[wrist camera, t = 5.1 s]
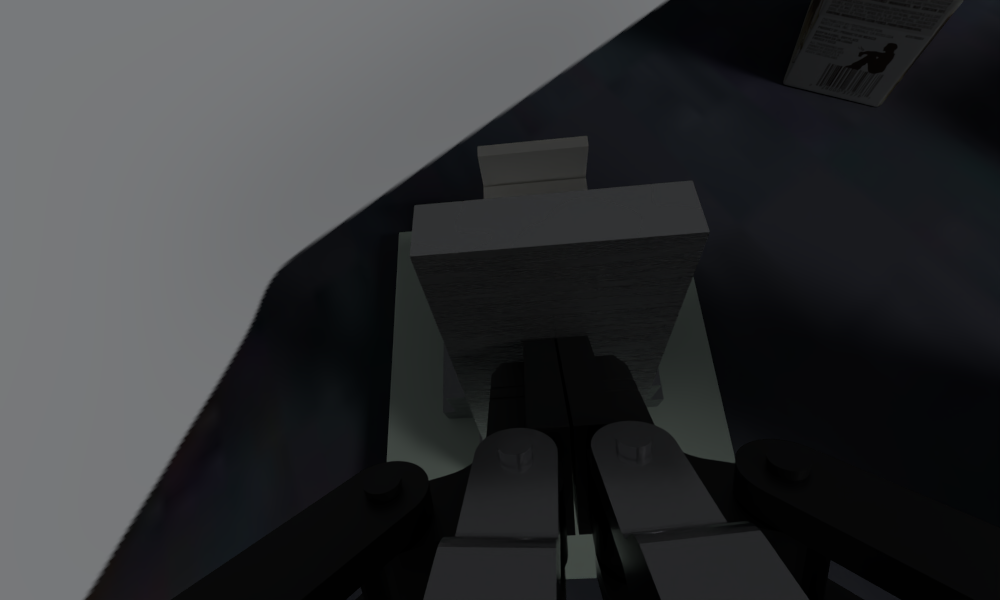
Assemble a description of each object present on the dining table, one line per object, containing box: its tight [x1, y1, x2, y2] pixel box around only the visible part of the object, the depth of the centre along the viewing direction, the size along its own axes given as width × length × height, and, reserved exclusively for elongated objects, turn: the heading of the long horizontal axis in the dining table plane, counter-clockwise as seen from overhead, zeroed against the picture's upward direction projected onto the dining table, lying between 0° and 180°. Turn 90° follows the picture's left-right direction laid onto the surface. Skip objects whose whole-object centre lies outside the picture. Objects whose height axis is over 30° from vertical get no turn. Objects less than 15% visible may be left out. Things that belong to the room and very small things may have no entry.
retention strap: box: [410, 181, 710, 443], centre depth 14 cm, size 6×1×13 cm, turn 93°
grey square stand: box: [387, 136, 735, 579], centre depth 23 cm, size 16×18×8 cm
